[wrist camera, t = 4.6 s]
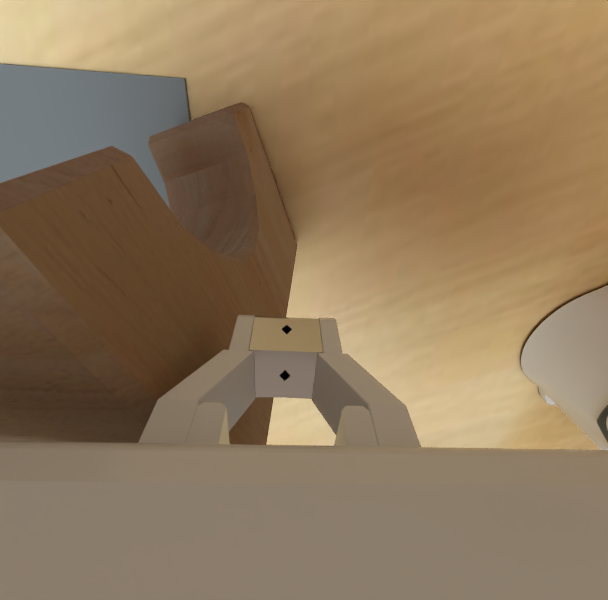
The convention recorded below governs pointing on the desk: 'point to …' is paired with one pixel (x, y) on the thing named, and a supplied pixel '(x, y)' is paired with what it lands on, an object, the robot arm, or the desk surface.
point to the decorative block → (136, 279)
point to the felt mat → (84, 117)
